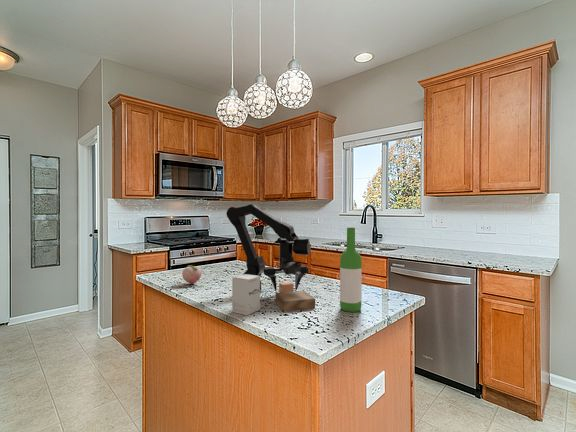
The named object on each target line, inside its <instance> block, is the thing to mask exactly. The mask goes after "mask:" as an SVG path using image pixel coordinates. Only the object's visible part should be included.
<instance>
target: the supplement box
mask: <svg viewBox="0 0 576 432" xmlns="http://www.w3.org/2000/svg"><path fill="white" fill-rule="evenodd" d="M243 274H244V273H243ZM243 274H241V275H237V276H233V277H232V283H231V284H232V285H231V286H232V288H231V291H232V292H231V293H232V295H231V299H232V301H231V302H232V303H231V304H232V305H231V306H232V307H231V311H232V313H235V314H240V315H244V316H249V315H251V314H252V313H255V312H257V311H260V310H261V293H260V291H261V290H260V281H261V276H257V275H249V274H244V275H243Z"/></svg>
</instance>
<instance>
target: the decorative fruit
mask: <svg viewBox="0 0 576 432" xmlns="http://www.w3.org/2000/svg"><path fill="white" fill-rule="evenodd" d="M202 273H203V271H202V270H201V269H200V267H198V266H195V265H193V264H191V265H190V264H189V265H187V266H186V267H185V268H184V269H183V270H182V272H181V274H182V276H181V277H182V279H183V280H184V281H185V282H187V283H189V284H191V285H194V284H196V283H197V282H198V281H199V280H200V279H201V277H202Z"/></svg>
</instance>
